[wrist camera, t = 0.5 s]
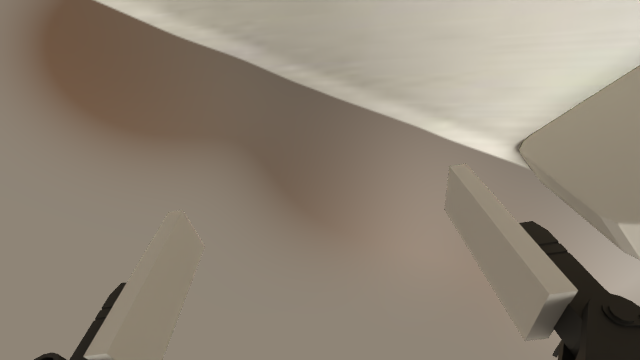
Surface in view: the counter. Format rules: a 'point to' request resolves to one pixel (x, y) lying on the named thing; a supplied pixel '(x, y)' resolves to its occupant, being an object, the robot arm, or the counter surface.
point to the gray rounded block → (596, 160)
